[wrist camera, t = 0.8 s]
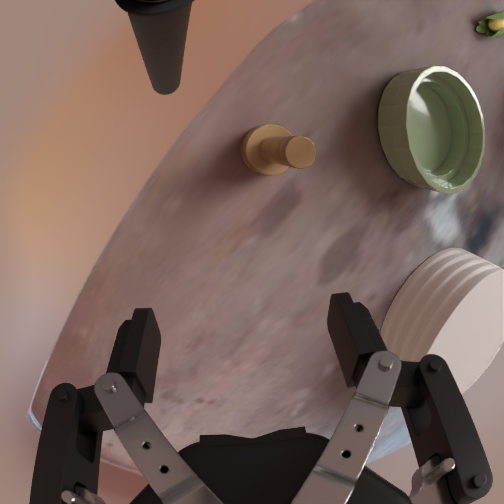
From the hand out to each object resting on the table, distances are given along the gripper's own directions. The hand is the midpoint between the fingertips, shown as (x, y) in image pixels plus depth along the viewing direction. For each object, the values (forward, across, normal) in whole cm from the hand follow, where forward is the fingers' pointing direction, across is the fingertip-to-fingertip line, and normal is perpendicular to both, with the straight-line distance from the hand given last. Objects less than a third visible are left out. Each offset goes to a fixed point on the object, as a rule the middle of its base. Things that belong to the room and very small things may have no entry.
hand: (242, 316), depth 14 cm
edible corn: (+41, -55, -28) cm, 74 cm away
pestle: (+26, -4, -1) cm, 26 cm away
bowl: (+30, -28, -3) cm, 41 cm away
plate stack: (+25, -37, +30) cm, 54 cm away
